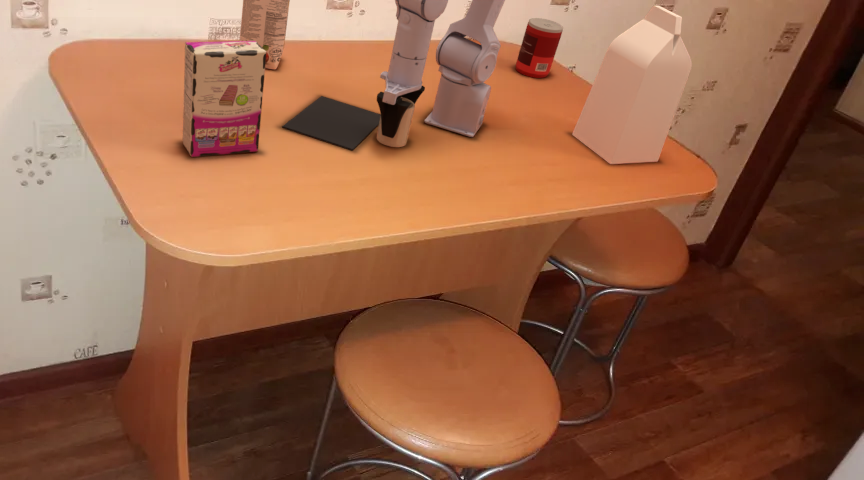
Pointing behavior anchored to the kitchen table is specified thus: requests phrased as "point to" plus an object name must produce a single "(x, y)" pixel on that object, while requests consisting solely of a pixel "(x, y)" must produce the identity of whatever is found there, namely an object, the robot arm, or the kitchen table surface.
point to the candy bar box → (222, 97)
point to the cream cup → (402, 131)
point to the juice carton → (266, 27)
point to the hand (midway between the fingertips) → (393, 130)
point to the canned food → (538, 47)
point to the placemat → (334, 122)
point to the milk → (636, 91)
